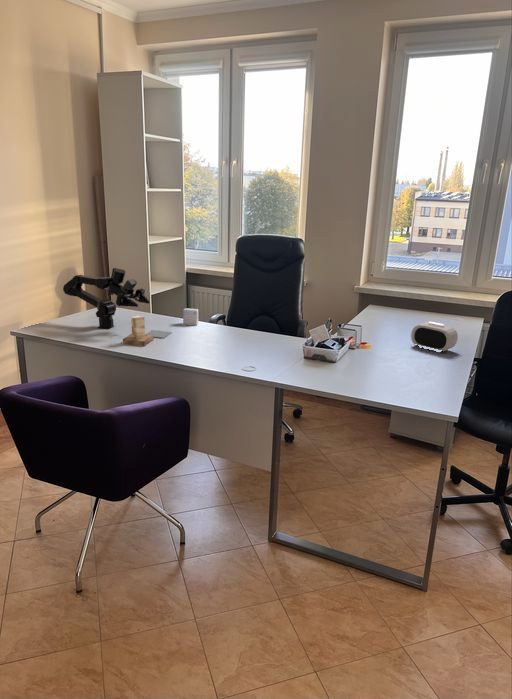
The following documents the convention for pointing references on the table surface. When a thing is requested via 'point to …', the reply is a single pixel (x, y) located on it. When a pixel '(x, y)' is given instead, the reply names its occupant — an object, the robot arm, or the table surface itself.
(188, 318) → the medicine box
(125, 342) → the walnut shelf block
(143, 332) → the birch blank
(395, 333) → the table surface
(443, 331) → the alarm clock
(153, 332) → the slate mat
